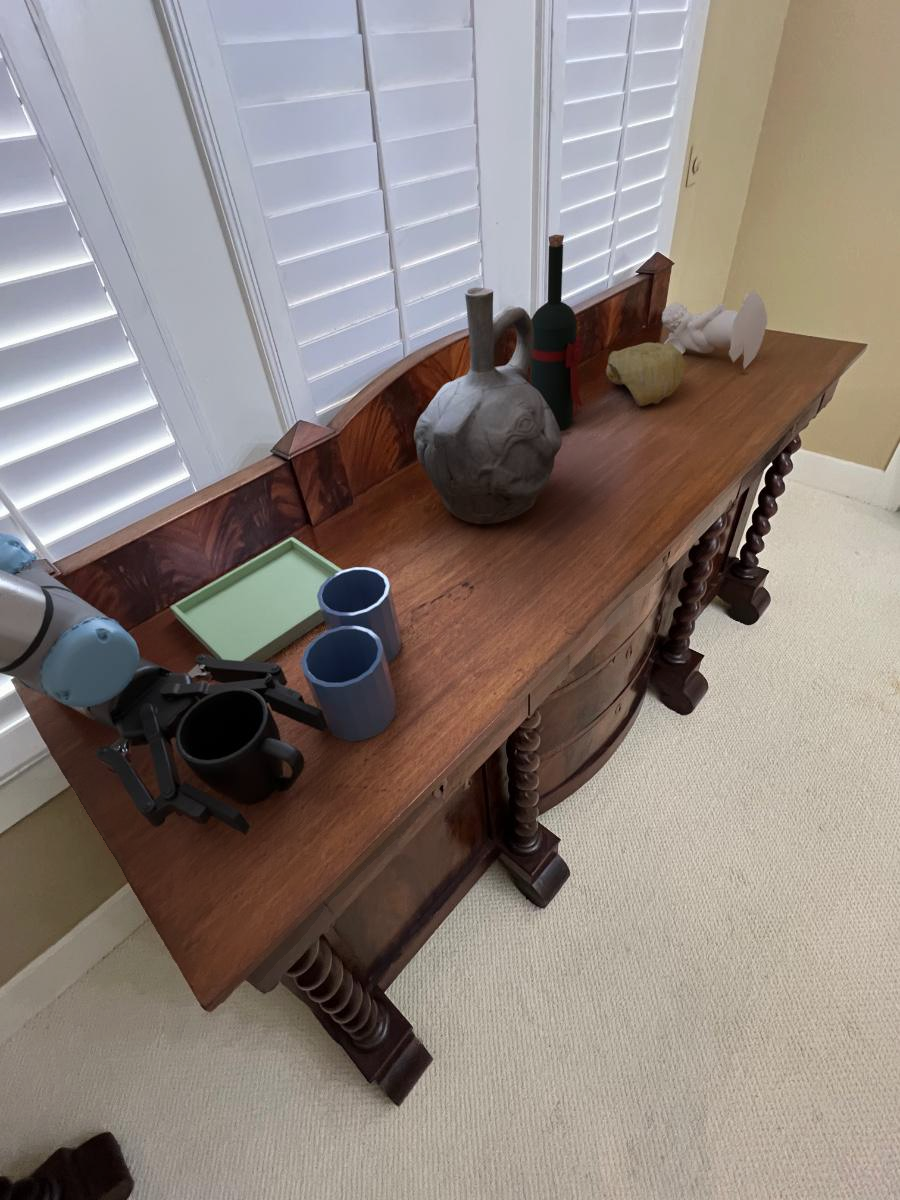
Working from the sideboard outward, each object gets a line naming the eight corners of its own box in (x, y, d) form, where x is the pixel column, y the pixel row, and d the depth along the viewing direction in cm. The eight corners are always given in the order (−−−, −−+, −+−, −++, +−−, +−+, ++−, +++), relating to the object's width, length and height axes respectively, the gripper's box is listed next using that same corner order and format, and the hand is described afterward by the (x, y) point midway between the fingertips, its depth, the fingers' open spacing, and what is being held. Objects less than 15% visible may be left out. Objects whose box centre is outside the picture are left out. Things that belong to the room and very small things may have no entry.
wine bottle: (564, 440, 103) (573, 246, 83) (520, 424, 109) (519, 239, 89) (591, 423, 107) (606, 233, 86) (548, 409, 112) (552, 228, 92)
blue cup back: (341, 679, 67) (322, 623, 61) (331, 632, 73) (313, 577, 67) (408, 659, 68) (396, 603, 62) (393, 615, 74) (381, 560, 68)
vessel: (447, 454, 103) (426, 264, 83) (572, 462, 97) (583, 259, 77) (399, 536, 86) (359, 323, 66) (547, 552, 80) (553, 323, 60)
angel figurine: (655, 372, 132) (679, 321, 131) (744, 382, 119) (771, 325, 118) (633, 337, 121) (659, 282, 121) (728, 344, 108) (757, 282, 108)
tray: (237, 679, 68) (231, 668, 67) (176, 618, 77) (169, 606, 76) (364, 593, 77) (360, 581, 76) (295, 547, 87) (292, 536, 85)
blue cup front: (330, 751, 60) (308, 697, 54) (317, 694, 66) (296, 639, 59) (405, 726, 61) (391, 670, 55) (386, 672, 67) (371, 616, 61)
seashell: (688, 400, 115) (629, 366, 122) (711, 348, 107) (645, 314, 113) (635, 431, 108) (575, 393, 114) (654, 378, 99) (588, 340, 106)
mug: (292, 848, 53) (260, 795, 46) (196, 799, 57) (154, 744, 51) (343, 773, 58) (320, 716, 51) (251, 733, 62) (219, 676, 56)
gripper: (213, 640, 70) (364, 699, 62) (42, 801, 56) (208, 908, 47) (189, 594, 65) (349, 651, 56) (-6, 758, 51) (169, 869, 42)
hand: (285, 768), depth 52 cm, fingers open, 10 cm apart
